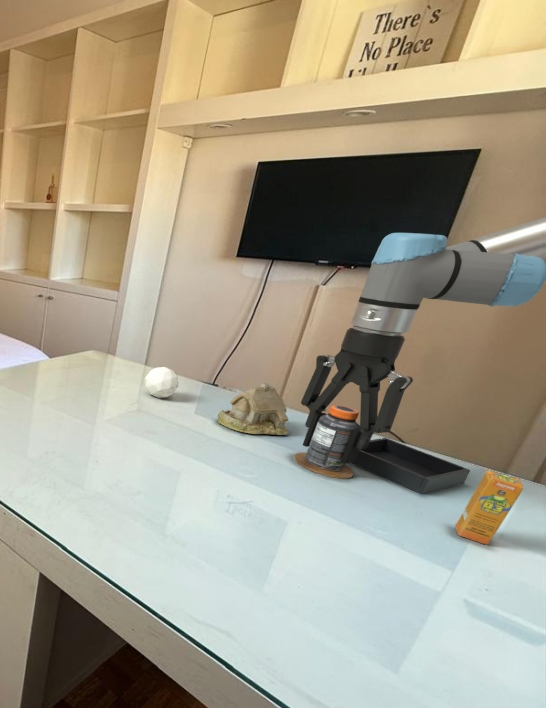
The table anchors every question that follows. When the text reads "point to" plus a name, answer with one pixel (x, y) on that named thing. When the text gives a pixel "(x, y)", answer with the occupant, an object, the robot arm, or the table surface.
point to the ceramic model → (256, 412)
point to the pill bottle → (332, 438)
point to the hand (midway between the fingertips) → (327, 453)
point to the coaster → (342, 474)
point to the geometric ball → (161, 382)
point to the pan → (410, 466)
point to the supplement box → (488, 507)
